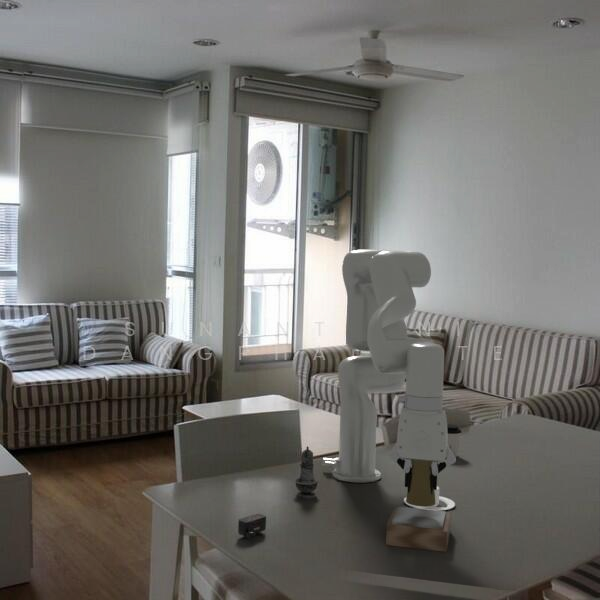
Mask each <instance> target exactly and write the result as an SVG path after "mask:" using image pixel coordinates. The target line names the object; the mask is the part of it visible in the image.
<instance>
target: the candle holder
mask: <svg viewBox="0 0 600 600" xmlns="http://www.w3.org/2000/svg"><path fill="white" fill-rule="evenodd" d="M440 490H441V489H440V486H438V485H437V490H434V491H435V502H436V503H435V505H433V506H415V505H411V504H408V503H407V502H406V498H407V496H406V497H404V498H403V502H404V503H405V504H406V505H407V506H409V507H410V508H417V509H427V510H436V511H447V510H448V511H449V510H451V509H453V508H454V507H455V506H456V503H455V502H454V500H452V499H450V498H449V497H448V498H447V497H444V496H442V495H441V496H440ZM440 501H441V502H443V503H445V505H446V506H445V507H441V506H439V504H440Z"/></svg>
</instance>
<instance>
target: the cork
mask: <svg viewBox="0 0 600 600" xmlns="http://www.w3.org/2000/svg"><path fill="white" fill-rule="evenodd" d="M411 463H412V464H411V474H412V480H411V486H410V492H409V493H408V491H407V493H406V497H407V498H406V502H407V503H408V504H411V505H415V506H433V505H435V503H436V502H435V491H434V489H433V493H432V494H431V488H430V476H431V475H432V473H431V472H432V467H431V465H432V461H424V460H411Z"/></svg>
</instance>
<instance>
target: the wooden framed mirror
mask: <svg viewBox="0 0 600 600" xmlns="http://www.w3.org/2000/svg"><path fill="white" fill-rule="evenodd" d="M427 509H428V508H427ZM427 509H417V508H414V507H406V506H398V507H393V509H392V511H391V514H390V516H389V519H388V521H387V523H386V529H385V530H386V531H385V532H386V533H385V536H386V537H385V545H386V546H394V547H402V548H412V549H419V550H420V549H421V550H428V551H437V552H445V553H446V552H448V544H449V539H450V533H451V519H452V517H451V514H452V513H450V512H447V510H441V511H436V510H427Z"/></svg>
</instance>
